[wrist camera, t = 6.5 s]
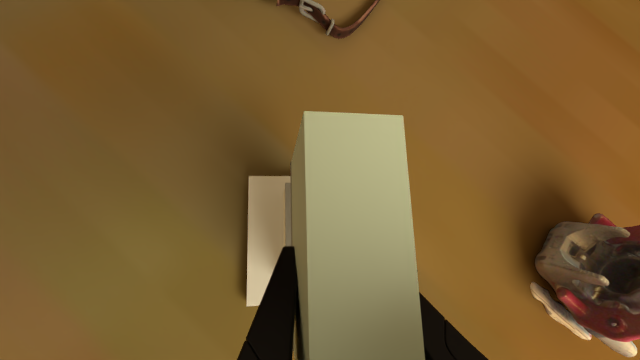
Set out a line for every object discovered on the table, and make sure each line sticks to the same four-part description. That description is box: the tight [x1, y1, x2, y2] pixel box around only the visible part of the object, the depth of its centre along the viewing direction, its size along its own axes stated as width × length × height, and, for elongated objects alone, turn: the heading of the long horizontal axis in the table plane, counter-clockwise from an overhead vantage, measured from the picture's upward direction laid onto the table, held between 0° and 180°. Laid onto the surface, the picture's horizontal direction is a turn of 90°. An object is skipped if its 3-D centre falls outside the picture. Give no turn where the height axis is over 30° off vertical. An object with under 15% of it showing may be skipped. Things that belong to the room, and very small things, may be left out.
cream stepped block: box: [247, 176, 291, 306], centre depth 19 cm, size 10×8×6 cm
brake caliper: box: [530, 213, 640, 357], centre depth 22 cm, size 11×11×12 cm
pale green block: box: [290, 111, 425, 360], centre depth 8 cm, size 7×2×5 cm, turn 2°
